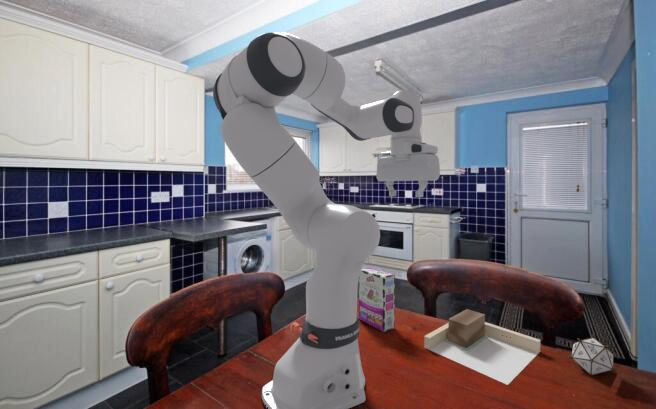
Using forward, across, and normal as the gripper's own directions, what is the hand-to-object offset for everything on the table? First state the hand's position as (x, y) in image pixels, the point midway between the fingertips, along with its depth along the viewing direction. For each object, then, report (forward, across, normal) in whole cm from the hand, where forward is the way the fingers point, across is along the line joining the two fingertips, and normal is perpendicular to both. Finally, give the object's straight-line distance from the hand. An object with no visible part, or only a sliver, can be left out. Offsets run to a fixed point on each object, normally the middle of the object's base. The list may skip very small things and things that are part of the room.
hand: (405, 196), depth 93 cm
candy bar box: (+39, -6, -6) cm, 40 cm away
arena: (+39, +22, +2) cm, 45 cm away
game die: (+39, +42, +12) cm, 59 cm away
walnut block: (+38, +17, +4) cm, 42 cm away
